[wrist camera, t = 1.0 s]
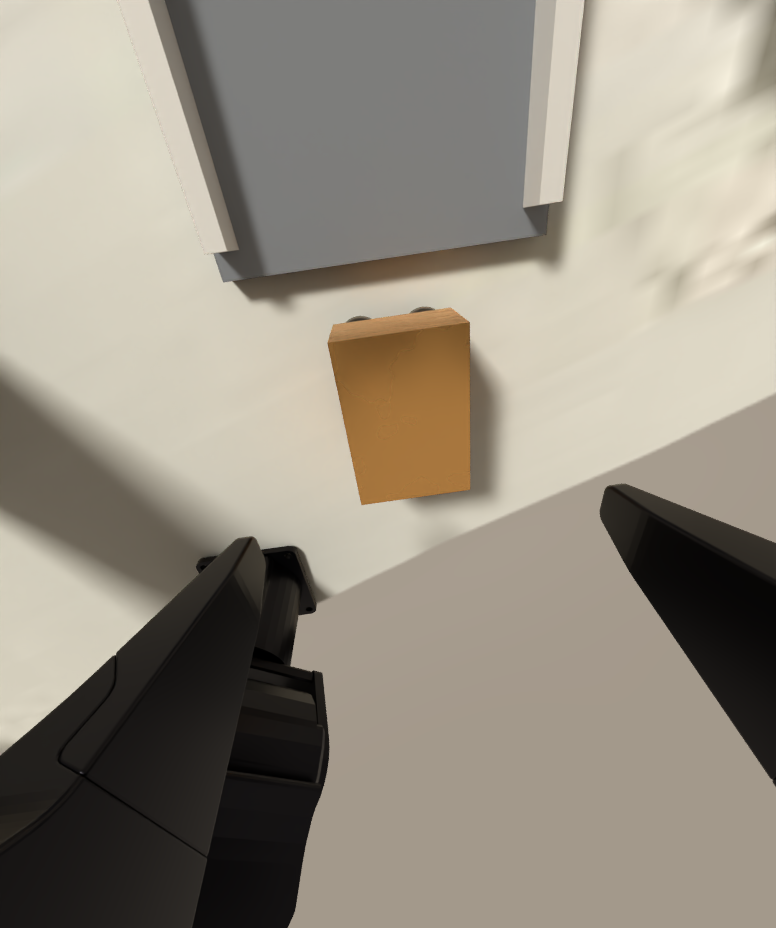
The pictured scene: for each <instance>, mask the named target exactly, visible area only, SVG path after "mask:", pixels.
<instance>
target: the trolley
mask: <svg viewBox="0 0 776 928" xmlns="http://www.w3.org/2000/svg"><path fill="white" fill-rule="evenodd" d="M328 348H329V352H330V357H331V362H332V367H333V371H334V376H335V381H336V386H337V390H338V395H339V400H340V405H341V409H342V414H343V419H344V424H345V428H346V433H347V438H348V443H349V448H350V452H351V457H352V462H353V467H354V471H355V476H356V481H357V486H358V490H359V495H360V500H361V505H365V504H372V503H379V502H386V501H393V500H401V499H408V498H415V497H422V496H429V495H436V494H443V493H450V492H458V491H465V490H470V322H469V321H467V320H466V319H465V318H464V317H462V316H461V315H460V314H458V313H457V312H456V311H454V310H453V309H452V308H444V309H438V310H435V309H433V308H431V307H419V308H416V309H414V310H413V311H411V312H410V313H409V314H403V315H396V316H390V317H383V318H376V319H371V318H368V317H365V316H357V317H353V318H351V319H349V320H348V321H347V322H346V323H341V324H335V325H333V327H332V330H331V333H330V336H329V340H328Z"/></svg>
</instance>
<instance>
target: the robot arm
mask: <svg viewBox="0 0 776 928" xmlns="http://www.w3.org/2000/svg"><path fill="white" fill-rule="evenodd" d="M600 517H601V520H602V522H603V524H604V526H605V528H606V530H607V531H608V533H609V535H610V537H611V539H612V540H613V543H614V545H615V546H616V548H617V550H618V552H619V554H620V556H621V558H622V559H623V561H624V563H625V565H626V566H627V568H628V570H629V572H630V573H631V575H632V576H633V578H634V579H635V581H636V582H637V584H638V585H639V587H640V588H641V589H642V591H643V593H644V594H645V595H646V597H647V598H648V600H649V601H650V603H651V604H652V606H653V607H654V609H655V610H656V612H657V613H658V614H659V616H660V617H661V619H662V620H663V622H664V623H665V625H666V626H667V628H668V629H669V630H670V632H671V634H672V635H673V637H674V638H675V639H676V641H677V642H678V644H679V645H680V647H681V648H682V649H683V651H684V653H685V654H686V655H687V657H688V658H689V660H690V661H691V663H692V664H693V666H694V667H695V669H696V670H697V672H698V673H699V675H700V676H701V677H702V679H703V680H704V682H705V683H706V685H707V686H708V688H709V689H710V691H711V692H712V694H713V695H714V697H715V698H716V699H717V701H718V702H719V704H720V705H721V707H722V708H723V710H724V711H725V712H726V714H727V716H728V717H729V718H730V720H731V721H732V723H733V724H734V726H735V727H736V729H737V730H738V732H739V733H740V735H741V736H742V737H743V739H744V740H745V742H746V743H747V745H748V746H749V748H750V749H751V750H752V752H753V754H754V755H755V756H756V758H757V759H758V761H759V762H760V764H761V765H762V767H763V768H764V770H765V771H766V772H767V774H768V776H769V777H770V778H771V779H773V783H774V785H775V786H776V543H774V542H772V541H769V540H767V539H764V538H762V537H759V536H756V535H754V534H751V533H749V532H746V531H744V530H741V529H739V528H736V527H734V526H731V525H729V524H726V523H724V522H721V521H719V520H716V519H713V518H711V517H708V516H706V515H703V514H701V513H698V512H696V511H693V510H691V509H688V508H686V507H683V506H681V505H678V504H676V503H673V502H670V501H668V500H665V499H663V498H660V497H658V496H655V495H653V494H650V493H648V492H645V491H643V490H640V489H638V488H635V487H632V486H630V485H627V484H616V485H610V486H607V487H606V489H605V491H604V495H603V499H602V503H601V507H600ZM287 553H290V554H287ZM196 568H197V570H198V572H199V575H198V576H197V577H196V578H195V579H194V580H193V581H192V582H190V583H189V584H188V585H187V586H186V587H185V588H184V589H183V590H182V591H181V592H180V593H179V594H178V595H177V596H176V597H175V598H174V599H173V600H171V601H170V602H169V603H168V604H167V605H166V606H165V607H164V608H163V609H162V610H161V611H160V612H159V613H158V614H157V615H156V616H155V617H153V618H152V619H151V620H150V621H149V622H148V623H147V624H146V625H145V626H144V627H143V628H142V629H141V630H140V631H139V632H138V633H137V634H136V635H134V636H133V637H132V638H131V639H130V640H129V641H128V642H127V643H126V644H125V645H124V646H123V647H122V648H121V649H120V650H119V651H118V652H117V653H116V655H114V656H112V657H111V658H110V659H109V660H108V661H107V662H106V663H105V664H104V665H103V666H102V667H101V668H99V669H98V670H97V671H96V672H95V673H94V674H93V675H92V676H91V677H90V678H89V679H88V680H86V681H85V682H84V683H83V684H82V685H81V686H80V687H79V688H78V689H77V690H76V691H74V692H73V693H72V694H71V695H70V696H69V697H68V698H67V699H66V700H64V701H63V702H62V703H61V704H60V705H59V706H58V707H56V708H55V709H54V710H53V711H52V712H51V713H49V714H48V715H47V716H46V717H45V718H44V719H43V720H41V721H40V722H39V723H38V724H37V725H36V726H34V727H33V728H32V729H31V730H30V731H29V732H27V733H26V734H25V735H24V736H23V737H22V738H20V739H19V740H18V741H17V742H16V743H14V744H13V745H12V746H11V747H10V748H9V749H7V750H6V751H5V752H4V753H3V754H2V755H0V928H288V926H289V924H290V921H291V919H292V917H293V915H294V912H295V908H296V902H297V895H298V888H299V882H300V876H301V869H302V862H303V857H304V852H305V846H306V841H307V837H308V833H309V829H310V825H311V821H312V817H313V814H314V811H315V808H316V805H317V803H318V801H319V798H320V796H321V793H322V789H323V786H324V782H325V778H326V773H327V768H328V761H329V734H328V724H327V715H326V705H325V695H324V685H323V675H322V673H321V672H317V671H312V672H310V671H306V670H302V669H299V668H295V667H291V666H290V664H291V658H292V651H293V645H294V639H295V633H296V627H297V621H298V615H304V614H311V613H313V612H315V611H316V601H315V598H314V596H313V593H312V590H311V587H310V585H309V582H308V579H307V576H306V574H305V571H304V568H303V566H302V563H301V560H300V557H299V555H298V552H297V550H296V548H294V547H292V546H285V547H278V548H271V549H264V550H261V549H260V547H259V545H258V542H257V540H256V539H255V538H254V537H252V536H250V537H243V538H238V539H236V540H235V541H234V542H233V543H232V544H231V545H230V546H229V547H227V548H226V549H225V550H224V551H223V552H222V553H221V554H220V555H219V556H214V557H206V558H202V559H200V560H199V561H198V563H197V566H196Z"/></svg>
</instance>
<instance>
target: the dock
mask: <svg viewBox="0 0 776 928" xmlns="http://www.w3.org/2000/svg"><path fill="white" fill-rule="evenodd" d="M584 1H585V0H117V2H118V5H119V8H120V11H121V14H122V17H123V19H124V22H125V25H126V28H127V31H128V34H129V37H130V40H131V43H132V46H133V48H134V51H135V54H136V57H137V60H138V63H139V66H140V69H141V72H142V75H143V77H144V80H145V83H146V86H147V89H148V92H149V95H150V98H151V101H152V104H153V106H154V109H155V112H156V115H157V118H158V121H159V124H160V127H161V130H162V132H163V135H164V138H165V141H166V144H167V147H168V150H169V153H170V156H171V159H172V161H173V164H174V167H175V170H176V173H177V176H178V179H179V182H180V185H181V188H182V190H183V193H184V196H185V199H186V202H187V205H188V208H189V211H190V214H191V217H192V219H193V222H194V225H195V228H196V231H197V234H198V237H199V240H200V243H201V246H202V248H203V251H204V254H213V253H214V256H215V259H216V262H217V265H218V268H219V271H220V274H221V277H222V280H223V282H229V281H236V280H242V279H249V278H256V277H263V276H270V275H276V274H283V273H290V272H297V271H303V270H310V269H317V268H324V267H331V266H337V265H344V264H351V263H358V262H364V261H371V260H378V259H385V258H392V257H398V256H405V255H412V254H419V253H426V252H432V251H439V250H446V249H453V248H459V247H466V246H473V245H480V244H487V243H493V242H500V241H507V240H514V239H520V238H527V237H534V236H541V235H546V230H547V220H548V209H549V204H550V203H556V202H561V201H563V192H564V183H565V174H566V165H567V156H568V146H569V137H570V128H571V119H572V110H573V101H574V92H575V83H576V74H577V65H578V55H579V46H580V37H581V28H582V19H583V10H584Z"/></svg>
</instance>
